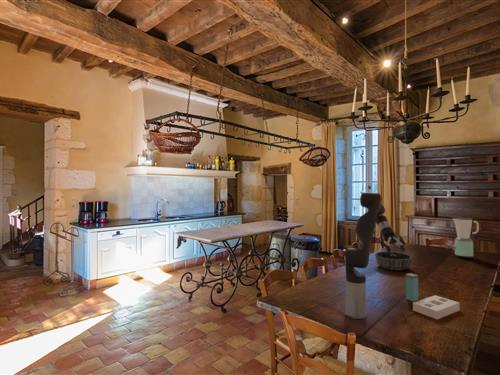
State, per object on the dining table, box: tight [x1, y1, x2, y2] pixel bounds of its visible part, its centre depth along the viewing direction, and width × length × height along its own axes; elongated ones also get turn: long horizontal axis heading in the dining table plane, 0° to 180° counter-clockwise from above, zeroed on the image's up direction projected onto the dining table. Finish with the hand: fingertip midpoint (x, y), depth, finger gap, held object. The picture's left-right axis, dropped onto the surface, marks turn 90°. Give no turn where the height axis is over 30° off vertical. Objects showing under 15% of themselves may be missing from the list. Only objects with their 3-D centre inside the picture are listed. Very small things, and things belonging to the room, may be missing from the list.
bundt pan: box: [374, 251, 413, 272], centre depth 229 cm, size 26×26×10 cm
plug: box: [405, 272, 419, 303], centre depth 166 cm, size 4×4×14 cm
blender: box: [451, 216, 480, 260], centre depth 257 cm, size 19×13×35 cm
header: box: [412, 294, 460, 320], centre depth 151 cm, size 20×12×4 cm, turn 119°
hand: (396, 251), depth 176 cm, fingers open, 8 cm apart
